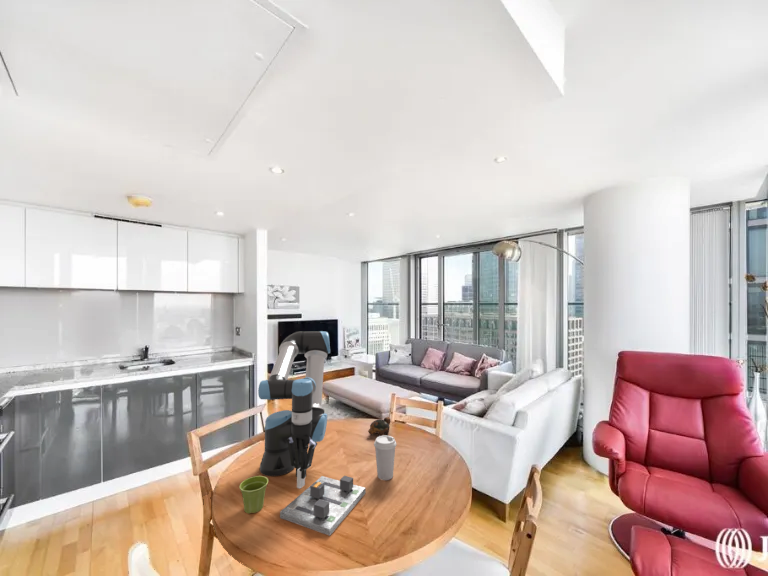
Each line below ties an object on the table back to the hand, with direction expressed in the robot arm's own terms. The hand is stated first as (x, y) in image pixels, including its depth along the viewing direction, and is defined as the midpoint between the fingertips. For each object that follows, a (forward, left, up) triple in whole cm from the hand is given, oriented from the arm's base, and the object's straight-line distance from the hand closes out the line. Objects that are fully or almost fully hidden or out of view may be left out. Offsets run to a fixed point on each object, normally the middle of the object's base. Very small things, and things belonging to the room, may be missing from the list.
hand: (300, 486), depth 116 cm
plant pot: (-11, -12, -4) cm, 17 cm away
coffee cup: (+23, +26, -4) cm, 35 cm away
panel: (+11, 0, -4) cm, 12 cm away
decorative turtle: (+3, +64, -4) cm, 64 cm away
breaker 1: (+7, 0, -2) cm, 7 cm away
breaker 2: (+15, -8, -2) cm, 17 cm away
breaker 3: (+15, +8, -2) cm, 17 cm away
